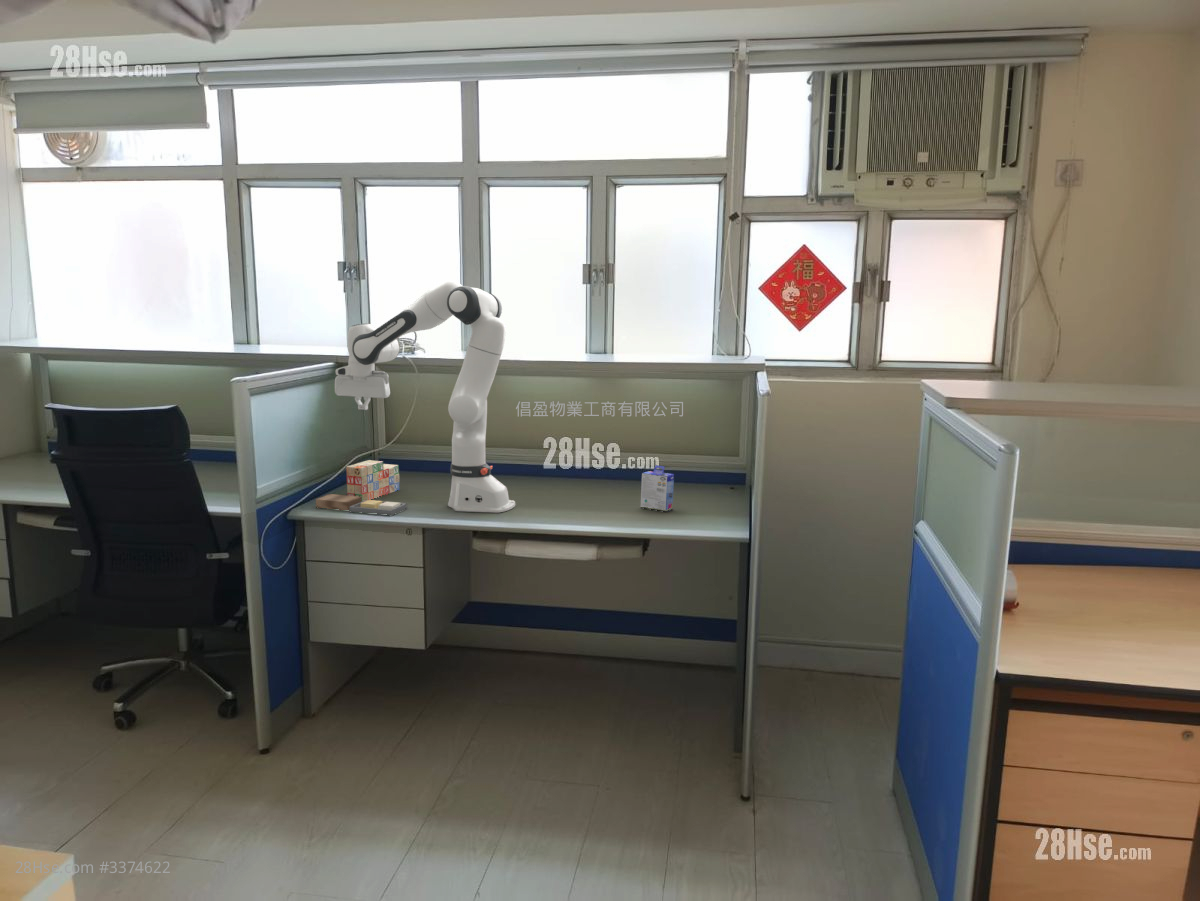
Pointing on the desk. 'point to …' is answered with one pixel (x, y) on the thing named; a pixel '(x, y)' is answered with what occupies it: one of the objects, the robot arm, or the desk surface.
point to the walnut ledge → (337, 501)
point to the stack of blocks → (372, 479)
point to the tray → (358, 508)
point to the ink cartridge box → (657, 489)
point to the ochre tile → (371, 504)
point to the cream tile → (388, 505)
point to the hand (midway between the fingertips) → (363, 409)
